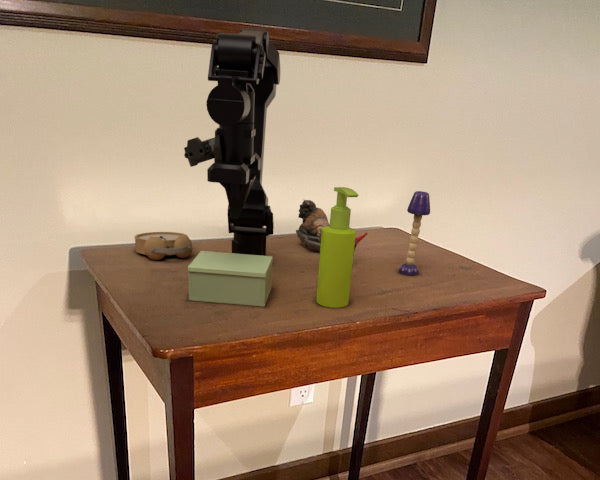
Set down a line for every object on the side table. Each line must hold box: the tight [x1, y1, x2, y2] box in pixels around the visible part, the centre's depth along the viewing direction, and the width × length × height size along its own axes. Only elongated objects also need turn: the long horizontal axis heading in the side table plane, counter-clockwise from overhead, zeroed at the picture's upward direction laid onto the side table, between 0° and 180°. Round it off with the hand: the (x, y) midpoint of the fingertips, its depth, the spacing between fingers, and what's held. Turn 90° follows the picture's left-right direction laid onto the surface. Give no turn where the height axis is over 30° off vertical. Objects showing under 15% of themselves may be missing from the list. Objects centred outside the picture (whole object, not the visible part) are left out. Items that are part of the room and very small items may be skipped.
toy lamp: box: [398, 190, 431, 276], centre depth 128 cm, size 5×5×17 cm
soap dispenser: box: [315, 186, 359, 309], centre depth 107 cm, size 6×7×20 cm
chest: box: [187, 260, 274, 308], centre depth 111 cm, size 10×13×5 cm
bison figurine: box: [295, 199, 330, 252], centre depth 143 cm, size 12×7×10 cm, turn 27°
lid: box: [187, 250, 274, 278], centre depth 109 cm, size 11×13×1 cm
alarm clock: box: [134, 231, 193, 261], centre depth 132 cm, size 11×5×15 cm
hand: (235, 218), depth 109 cm, fingers closed
